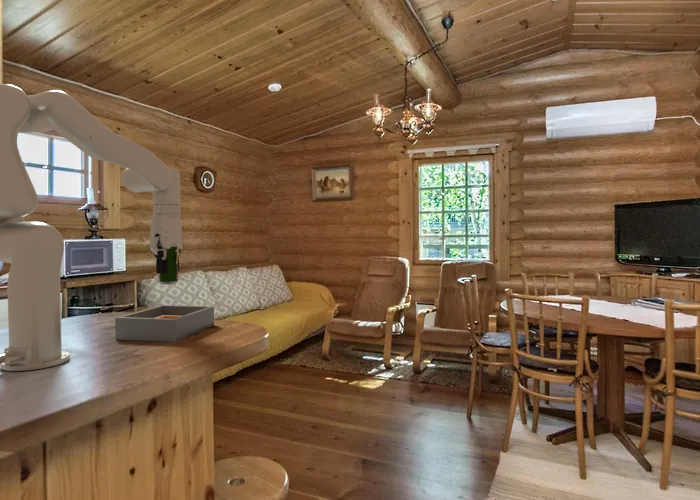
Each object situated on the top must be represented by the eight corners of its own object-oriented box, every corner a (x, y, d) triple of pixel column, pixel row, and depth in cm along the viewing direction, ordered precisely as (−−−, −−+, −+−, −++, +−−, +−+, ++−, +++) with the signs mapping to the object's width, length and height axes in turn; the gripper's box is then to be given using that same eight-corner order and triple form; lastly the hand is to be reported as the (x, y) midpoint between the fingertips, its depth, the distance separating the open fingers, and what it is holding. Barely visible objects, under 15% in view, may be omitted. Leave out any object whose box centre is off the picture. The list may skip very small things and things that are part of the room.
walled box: (175, 341, 116) (175, 319, 116) (115, 339, 119) (115, 317, 119) (214, 325, 138) (213, 306, 138) (162, 323, 141) (162, 305, 141)
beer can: (161, 285, 125) (160, 243, 124) (156, 283, 129) (155, 243, 128) (180, 283, 128) (179, 243, 128) (174, 282, 132) (174, 242, 132)
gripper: (171, 212, 137) (172, 270, 137) (136, 209, 120) (138, 275, 120) (193, 212, 135) (194, 270, 136) (161, 209, 119) (162, 275, 119)
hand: (168, 271), depth 128 cm, fingers closed on beer can, 5 cm apart
